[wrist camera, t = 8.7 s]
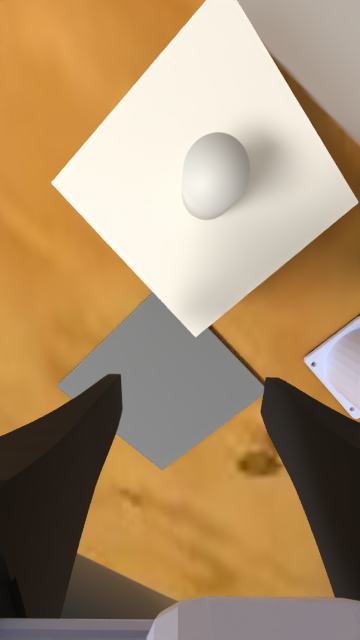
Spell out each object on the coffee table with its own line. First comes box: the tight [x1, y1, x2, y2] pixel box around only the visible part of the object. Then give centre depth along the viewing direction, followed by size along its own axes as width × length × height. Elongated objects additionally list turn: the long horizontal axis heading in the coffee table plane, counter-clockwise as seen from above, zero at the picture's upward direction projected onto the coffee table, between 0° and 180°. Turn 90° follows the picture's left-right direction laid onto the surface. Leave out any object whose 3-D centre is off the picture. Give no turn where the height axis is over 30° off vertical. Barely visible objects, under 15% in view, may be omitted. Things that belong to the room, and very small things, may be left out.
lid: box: [52, 0, 359, 337], centre depth 12 cm, size 13×13×4 cm
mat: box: [56, 293, 265, 470], centre depth 23 cm, size 15×15×1 cm
